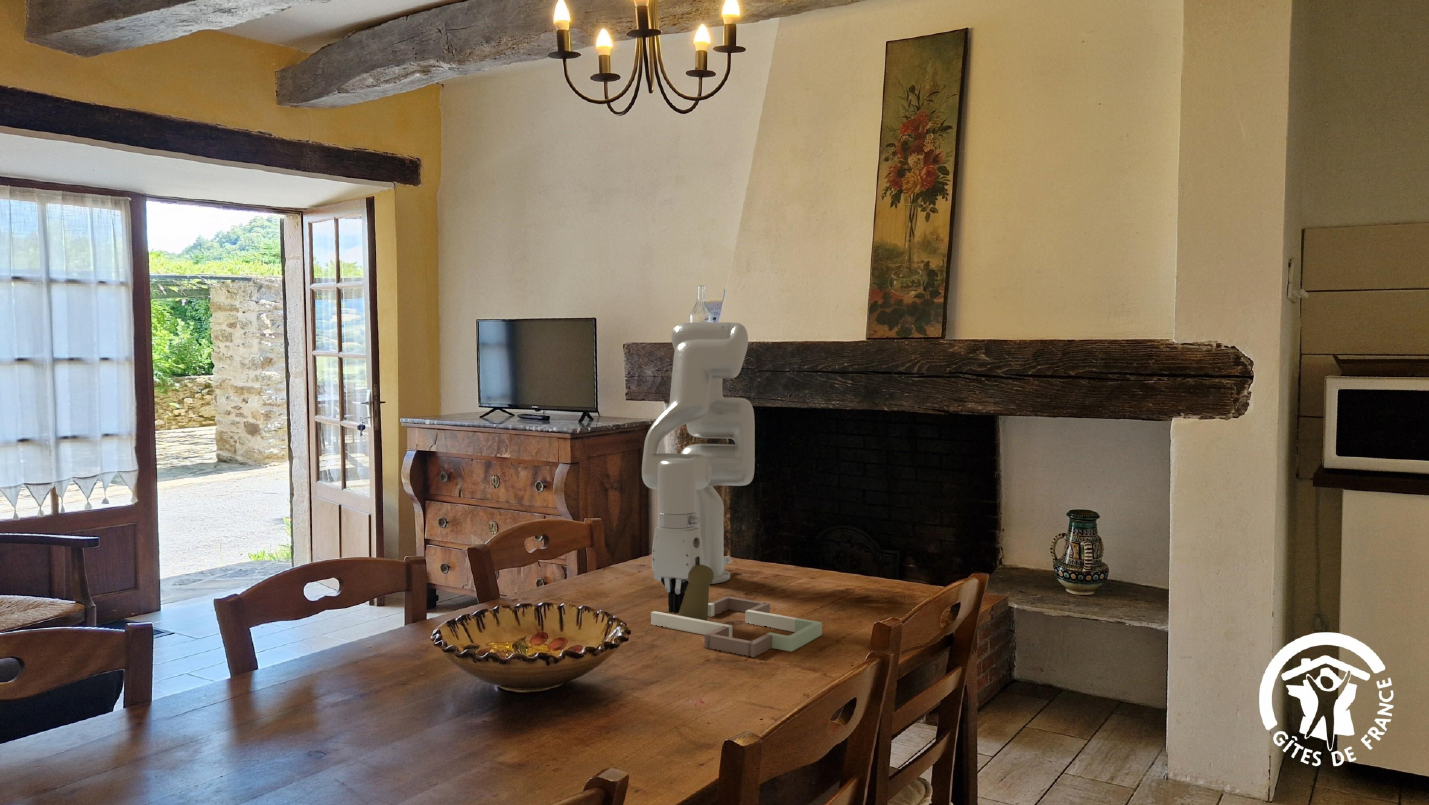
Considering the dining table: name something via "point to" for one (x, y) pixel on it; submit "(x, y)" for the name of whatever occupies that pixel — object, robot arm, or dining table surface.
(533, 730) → the dining table surface
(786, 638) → the trap lane
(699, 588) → the olive pawn
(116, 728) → the dining table surface
